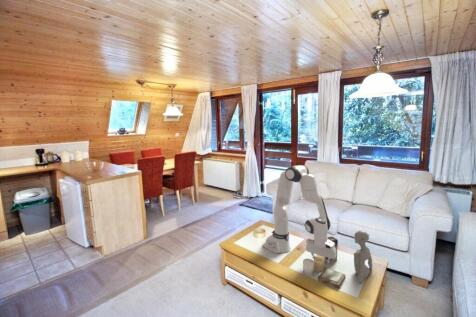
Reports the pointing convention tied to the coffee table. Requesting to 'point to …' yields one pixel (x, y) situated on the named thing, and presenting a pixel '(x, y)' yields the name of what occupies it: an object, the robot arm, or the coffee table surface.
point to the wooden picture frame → (331, 277)
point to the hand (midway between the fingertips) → (320, 260)
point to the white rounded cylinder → (308, 267)
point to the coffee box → (334, 246)
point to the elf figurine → (362, 256)
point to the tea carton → (319, 263)
